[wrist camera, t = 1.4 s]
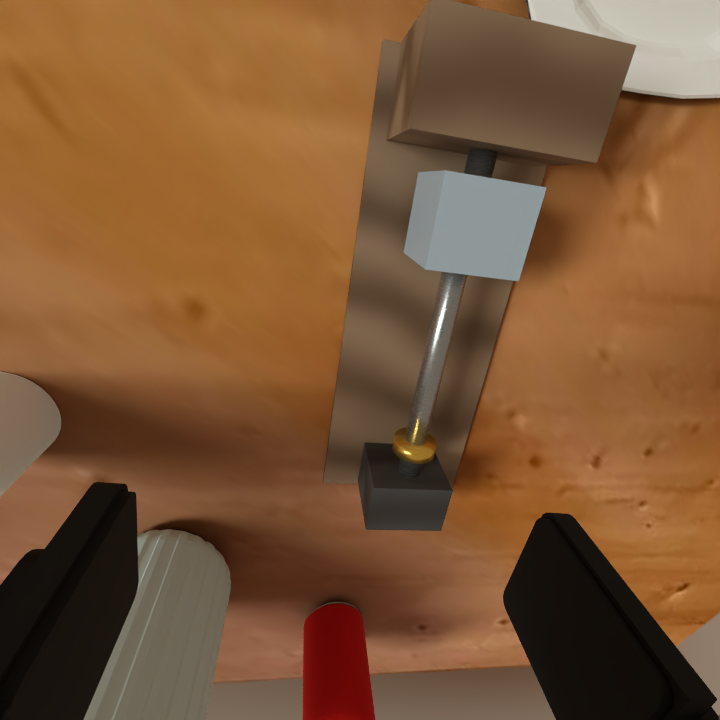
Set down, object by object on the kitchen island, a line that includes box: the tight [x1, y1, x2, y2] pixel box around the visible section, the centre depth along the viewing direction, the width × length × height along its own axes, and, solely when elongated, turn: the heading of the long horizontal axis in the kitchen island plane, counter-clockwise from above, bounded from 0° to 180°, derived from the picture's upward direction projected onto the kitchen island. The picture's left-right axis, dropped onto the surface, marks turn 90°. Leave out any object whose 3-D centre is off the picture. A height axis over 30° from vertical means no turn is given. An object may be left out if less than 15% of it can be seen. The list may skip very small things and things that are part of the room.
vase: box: [84, 529, 231, 720], centre depth 28 cm, size 12×12×22 cm
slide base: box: [323, 0, 636, 531], centre depth 28 cm, size 32×12×7 cm, turn 172°
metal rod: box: [392, 148, 498, 478], centre depth 28 cm, size 26×3×3 cm, turn 172°
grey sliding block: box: [404, 170, 547, 281], centre depth 24 cm, size 5×6×6 cm
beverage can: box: [303, 602, 375, 720], centre depth 38 cm, size 6×6×12 cm
